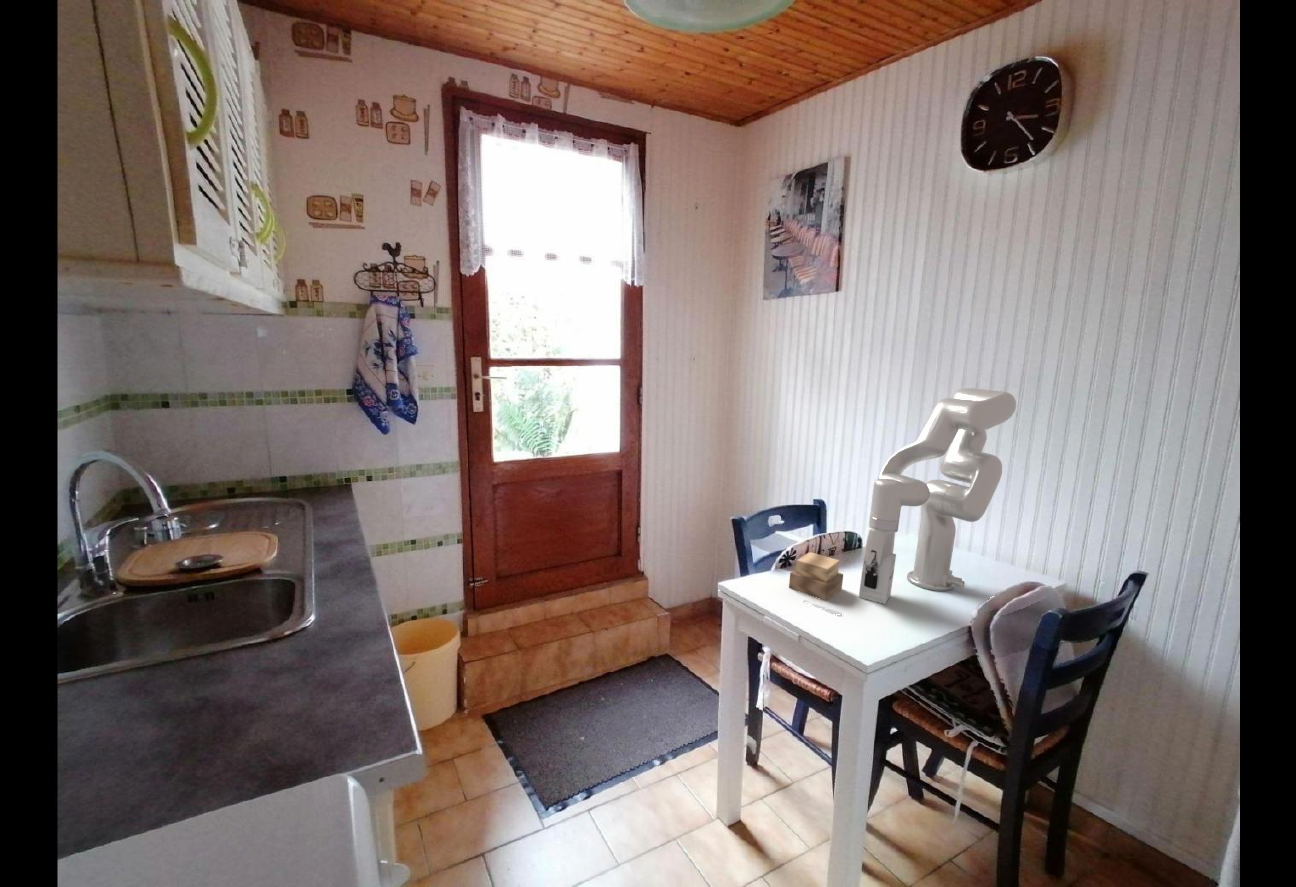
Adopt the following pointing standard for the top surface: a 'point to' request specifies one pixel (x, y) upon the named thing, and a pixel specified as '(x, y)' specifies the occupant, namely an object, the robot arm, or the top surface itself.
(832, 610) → the butter knife
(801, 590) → the tower base
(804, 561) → the tower top
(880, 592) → the supplement box
